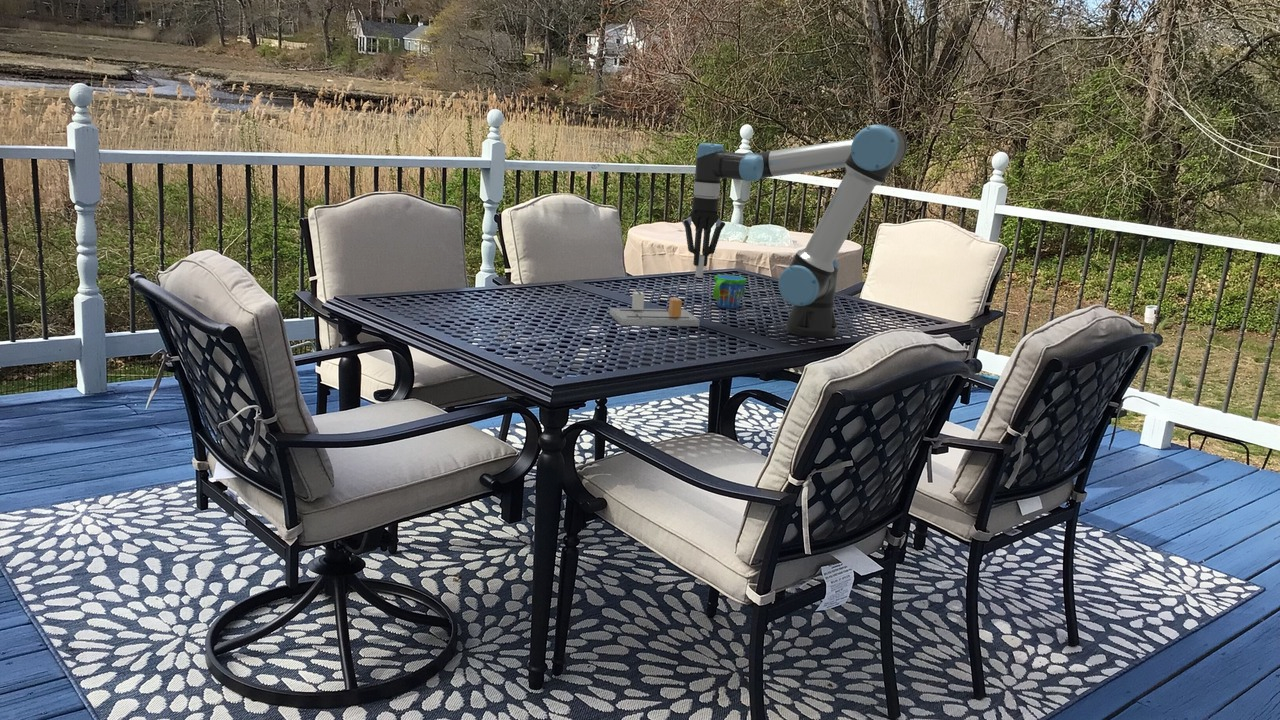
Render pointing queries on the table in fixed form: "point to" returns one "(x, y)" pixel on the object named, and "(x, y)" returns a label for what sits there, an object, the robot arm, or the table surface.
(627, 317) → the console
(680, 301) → the block
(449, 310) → the table surface
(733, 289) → the snack cup
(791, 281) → the robot arm
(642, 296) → the block
